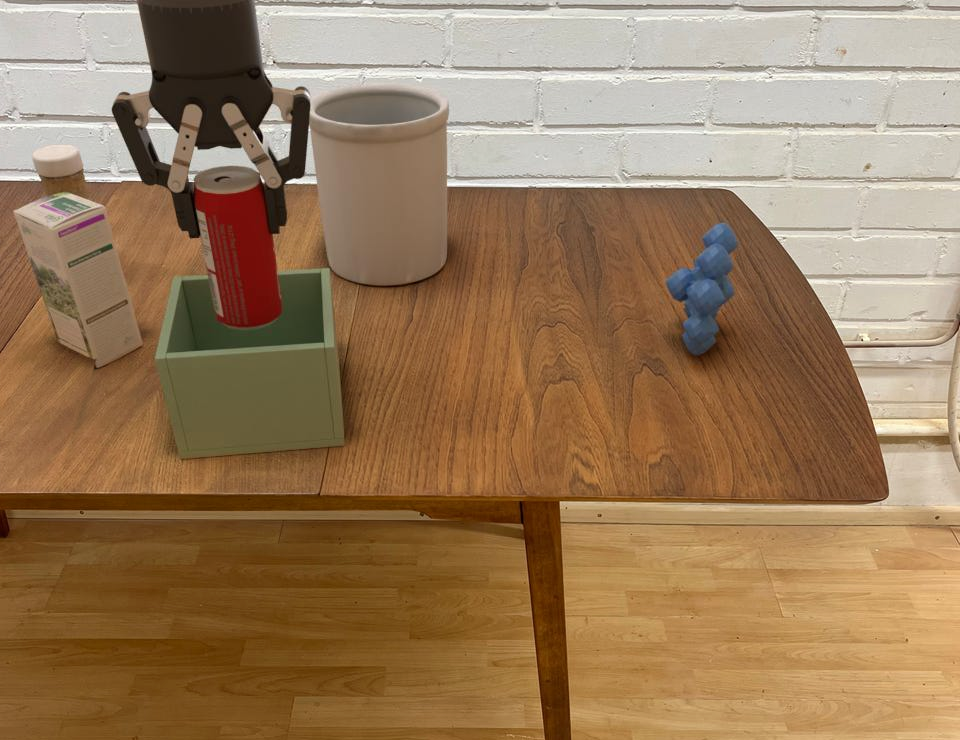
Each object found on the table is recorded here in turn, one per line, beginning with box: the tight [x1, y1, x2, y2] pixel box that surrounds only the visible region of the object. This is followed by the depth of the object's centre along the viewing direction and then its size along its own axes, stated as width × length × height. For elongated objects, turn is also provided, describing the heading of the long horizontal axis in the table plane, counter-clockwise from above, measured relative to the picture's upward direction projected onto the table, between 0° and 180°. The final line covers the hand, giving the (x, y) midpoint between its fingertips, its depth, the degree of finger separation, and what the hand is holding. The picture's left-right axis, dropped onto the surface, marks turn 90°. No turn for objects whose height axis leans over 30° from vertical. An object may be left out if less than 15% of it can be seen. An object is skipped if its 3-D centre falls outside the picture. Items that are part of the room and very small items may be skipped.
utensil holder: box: [309, 82, 450, 287], centre depth 97 cm, size 15×15×18 cm
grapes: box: [665, 221, 739, 357], centre depth 86 cm, size 12×7×12 cm, turn 161°
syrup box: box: [12, 192, 144, 369], centre depth 82 cm, size 6×6×14 cm
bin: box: [154, 267, 346, 460], centre depth 77 cm, size 14×14×10 cm
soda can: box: [193, 165, 282, 330], centre depth 70 cm, size 6×6×12 cm
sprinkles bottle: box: [31, 144, 92, 201], centre depth 95 cm, size 5×5×14 cm
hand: (235, 231), depth 69 cm, fingers closed on soda can, 5 cm apart
